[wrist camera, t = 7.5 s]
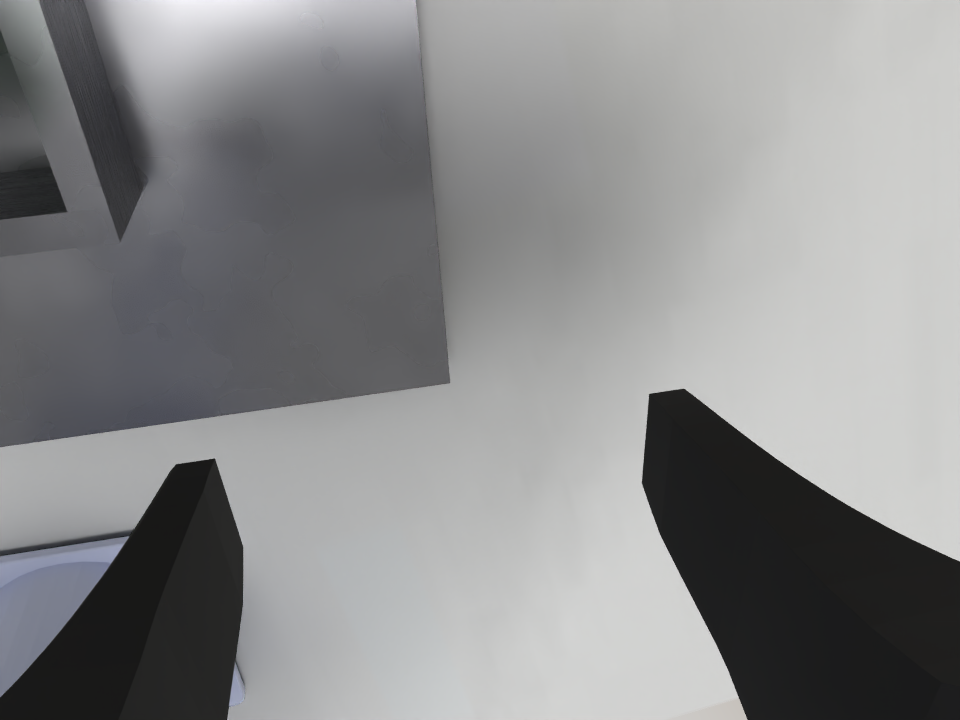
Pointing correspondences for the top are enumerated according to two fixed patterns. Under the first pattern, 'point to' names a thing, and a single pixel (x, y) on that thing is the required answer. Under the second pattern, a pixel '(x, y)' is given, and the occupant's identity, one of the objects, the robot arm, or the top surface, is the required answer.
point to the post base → (211, 210)
